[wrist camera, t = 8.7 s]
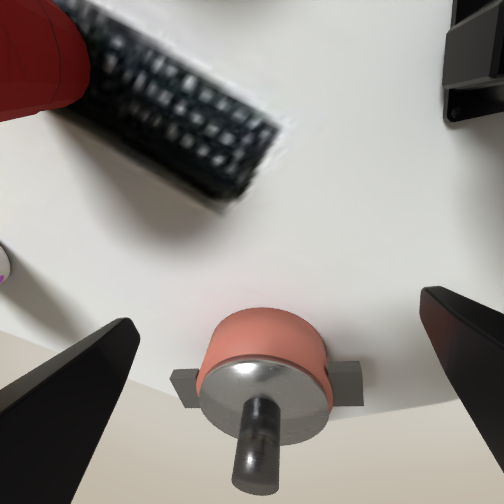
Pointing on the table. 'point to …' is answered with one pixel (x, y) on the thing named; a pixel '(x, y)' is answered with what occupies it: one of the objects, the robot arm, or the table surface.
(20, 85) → the plastic cup
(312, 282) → the table surface
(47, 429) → the robot arm
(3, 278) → the supplement bottle
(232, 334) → the pot
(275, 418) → the lid
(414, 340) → the table surface
